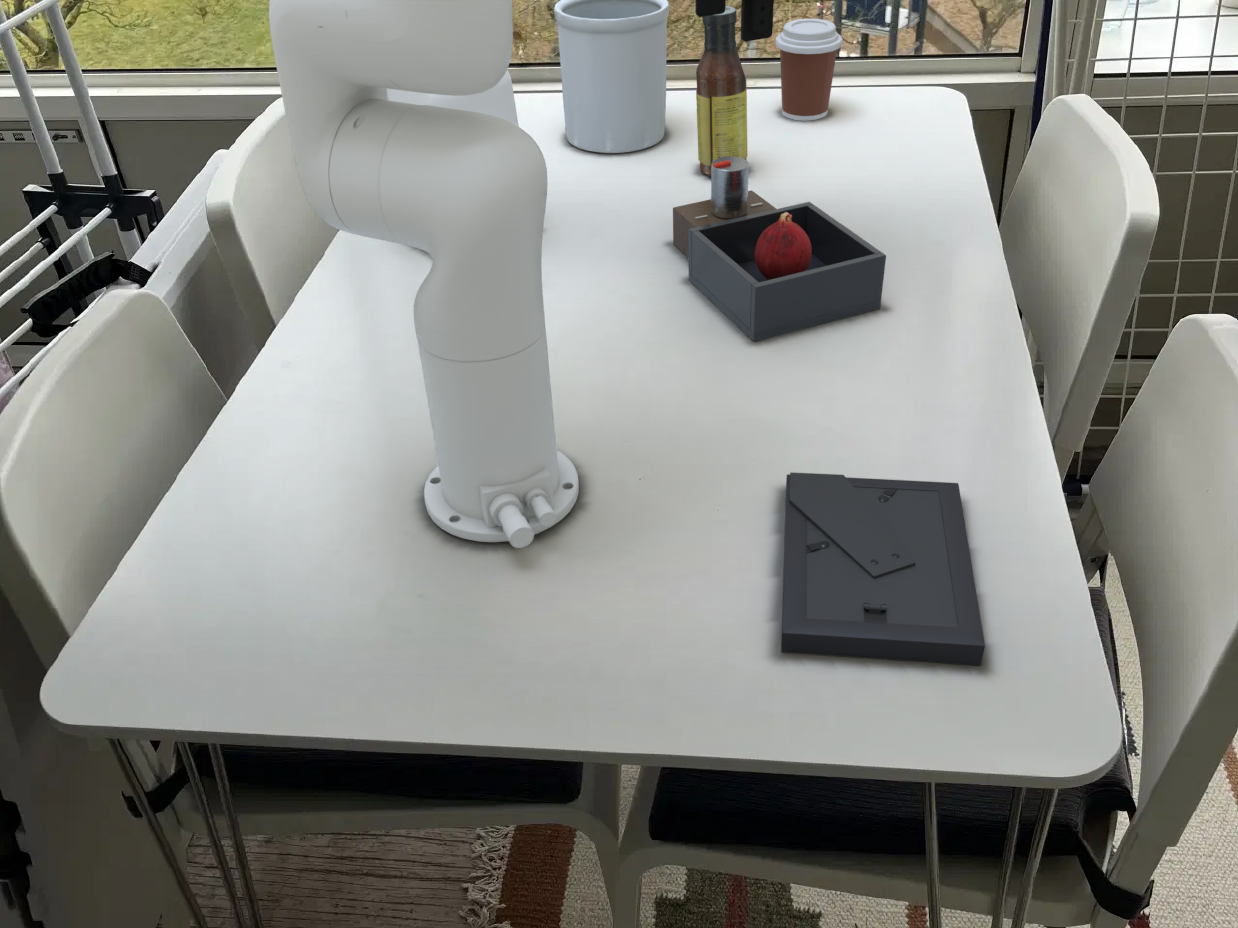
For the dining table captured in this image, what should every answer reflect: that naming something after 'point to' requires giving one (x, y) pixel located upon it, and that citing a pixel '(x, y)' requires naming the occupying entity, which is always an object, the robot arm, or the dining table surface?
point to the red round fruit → (783, 249)
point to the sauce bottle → (721, 93)
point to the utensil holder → (613, 72)
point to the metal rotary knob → (729, 187)
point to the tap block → (706, 217)
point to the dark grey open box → (768, 308)
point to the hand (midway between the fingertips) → (732, 26)
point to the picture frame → (878, 571)
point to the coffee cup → (807, 67)
